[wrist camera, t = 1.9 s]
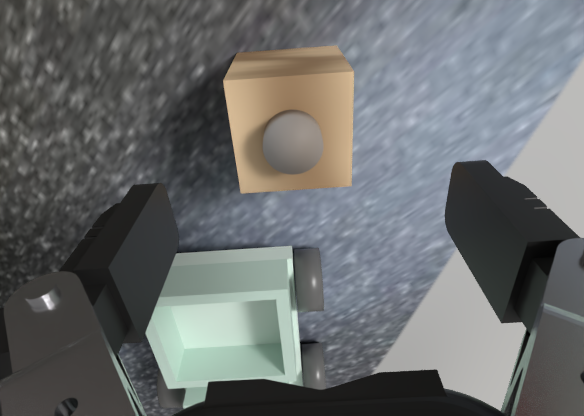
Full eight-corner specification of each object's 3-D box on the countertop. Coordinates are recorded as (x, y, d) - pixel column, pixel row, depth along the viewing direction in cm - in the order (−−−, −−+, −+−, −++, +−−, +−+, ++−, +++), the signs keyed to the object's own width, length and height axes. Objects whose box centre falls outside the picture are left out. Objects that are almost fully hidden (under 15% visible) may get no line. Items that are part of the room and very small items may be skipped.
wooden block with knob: (249, 145, 22) (238, 205, 16) (237, 52, 19) (219, 87, 14) (336, 139, 22) (355, 197, 16) (336, 45, 19) (358, 78, 14)
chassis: (179, 377, 33) (162, 448, 28) (129, 239, 25) (92, 305, 20) (322, 368, 33) (329, 438, 28) (317, 227, 25) (325, 290, 20)
